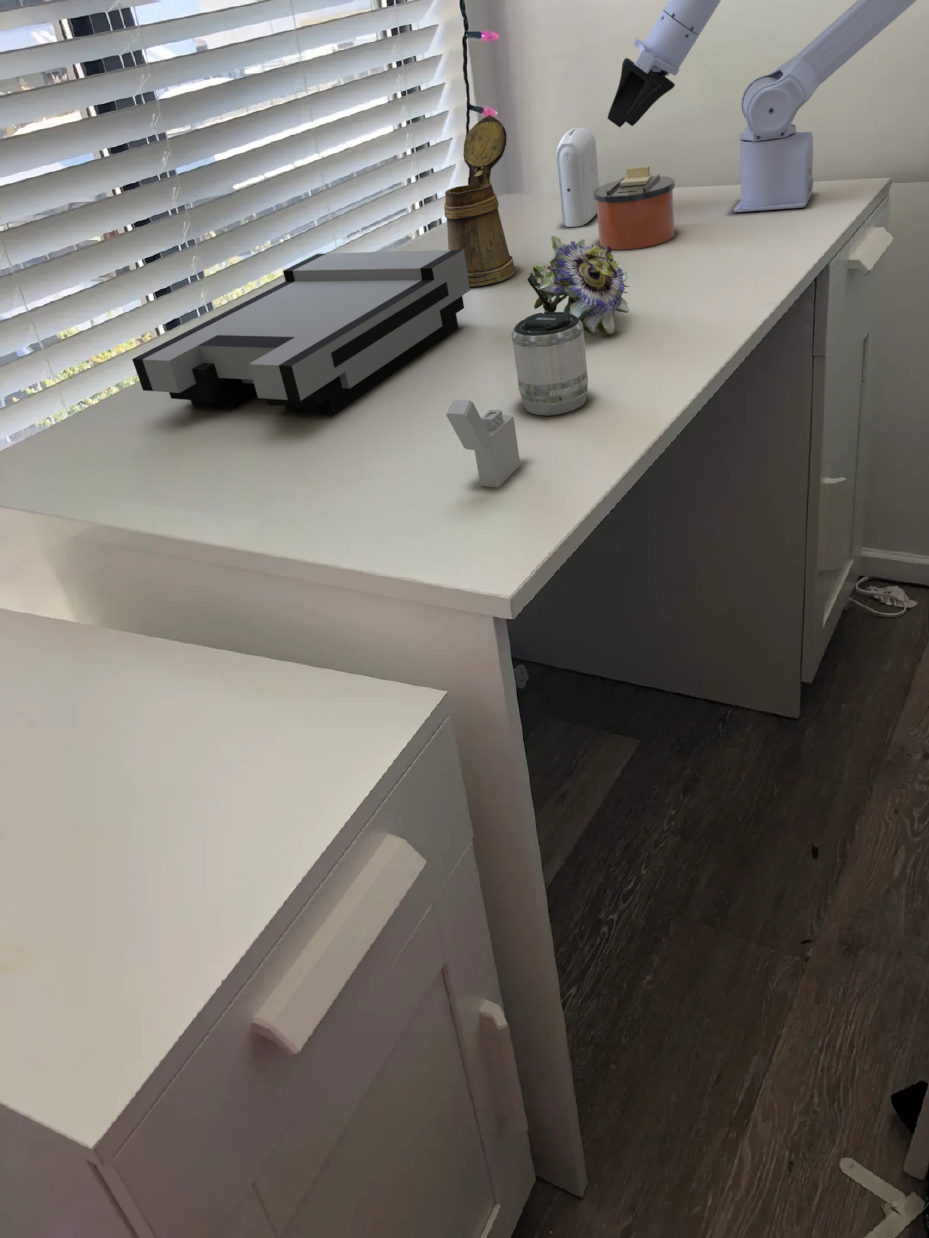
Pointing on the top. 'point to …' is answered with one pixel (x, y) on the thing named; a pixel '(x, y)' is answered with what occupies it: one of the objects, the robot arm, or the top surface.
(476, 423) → the lighter
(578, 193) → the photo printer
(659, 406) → the top surface
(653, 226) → the orange lidded canister
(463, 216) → the wooden mug
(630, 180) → the slider
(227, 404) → the game console
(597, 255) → the passion flower
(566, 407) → the camera lens
